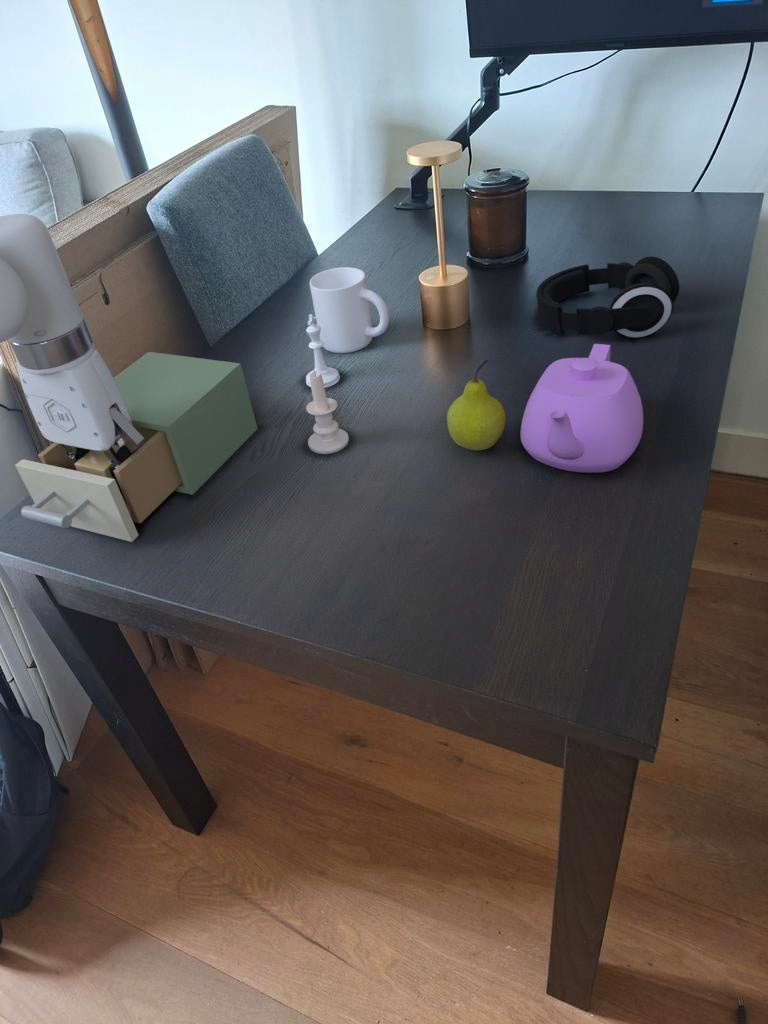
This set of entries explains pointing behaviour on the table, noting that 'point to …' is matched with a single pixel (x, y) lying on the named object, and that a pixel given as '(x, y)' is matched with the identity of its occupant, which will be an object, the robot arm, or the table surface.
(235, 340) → the table surface
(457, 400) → the fruit
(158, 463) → the drawer
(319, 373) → the candle
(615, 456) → the teapot
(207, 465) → the cabinet
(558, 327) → the headphones
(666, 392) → the table surface
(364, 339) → the mug
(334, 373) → the chess piece
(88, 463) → the block
